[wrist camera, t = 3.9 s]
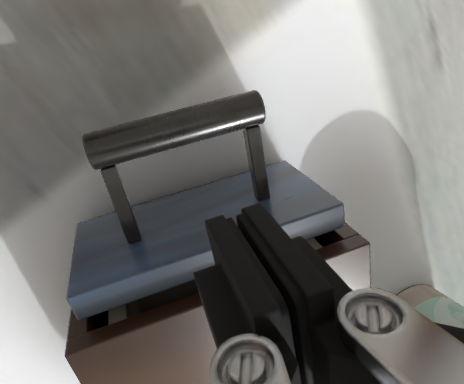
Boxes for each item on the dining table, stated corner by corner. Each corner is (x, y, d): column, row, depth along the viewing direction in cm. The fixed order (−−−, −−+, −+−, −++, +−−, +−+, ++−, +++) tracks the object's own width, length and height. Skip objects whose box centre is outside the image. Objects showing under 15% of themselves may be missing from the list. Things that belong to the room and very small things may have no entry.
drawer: (34, 129, 16) (1, 176, 11) (274, 69, 18) (339, 85, 13) (152, 392, 24) (164, 488, 19) (306, 329, 26) (353, 400, 21)
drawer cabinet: (77, 245, 20) (63, 356, 13) (290, 178, 22) (370, 242, 15) (153, 409, 26) (169, 537, 20) (310, 343, 29) (372, 438, 22)
